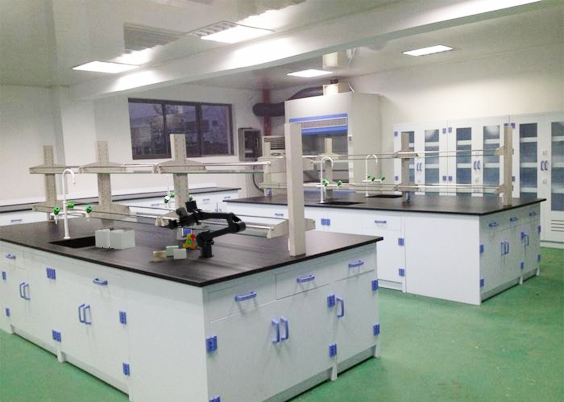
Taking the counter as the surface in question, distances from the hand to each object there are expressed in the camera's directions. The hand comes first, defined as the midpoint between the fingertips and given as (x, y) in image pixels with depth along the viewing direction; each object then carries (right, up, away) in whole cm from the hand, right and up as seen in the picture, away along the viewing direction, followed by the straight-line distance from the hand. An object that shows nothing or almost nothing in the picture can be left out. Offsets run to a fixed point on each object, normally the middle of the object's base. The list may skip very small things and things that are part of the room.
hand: (171, 226), depth 294 cm
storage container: (-44, -16, +32) cm, 56 cm away
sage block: (+1, -17, -2) cm, 17 cm away
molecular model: (+9, -15, +19) cm, 26 cm away
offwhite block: (+8, -18, -13) cm, 23 cm away
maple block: (-2, -18, -18) cm, 26 cm away
